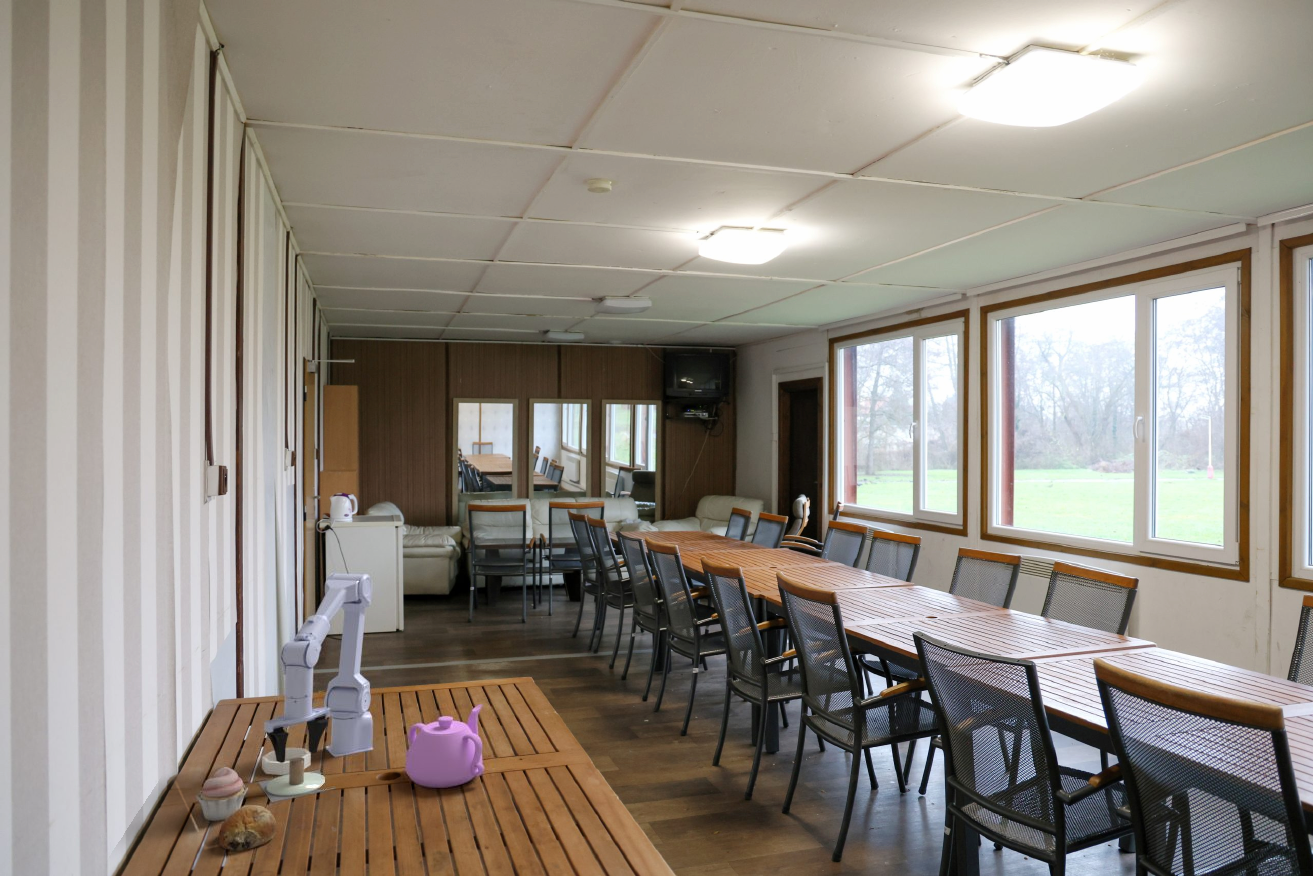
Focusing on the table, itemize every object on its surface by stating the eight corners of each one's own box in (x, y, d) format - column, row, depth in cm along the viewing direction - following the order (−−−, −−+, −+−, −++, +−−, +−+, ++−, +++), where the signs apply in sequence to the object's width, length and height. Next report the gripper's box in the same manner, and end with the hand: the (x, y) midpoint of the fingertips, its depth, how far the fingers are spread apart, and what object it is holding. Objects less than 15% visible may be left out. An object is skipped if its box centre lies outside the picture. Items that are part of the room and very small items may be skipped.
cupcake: (213, 830, 166) (214, 779, 166) (186, 818, 171) (188, 768, 171) (257, 813, 174) (258, 764, 174) (230, 802, 179) (232, 755, 179)
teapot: (516, 767, 202) (517, 709, 202) (459, 801, 182) (460, 736, 182) (442, 752, 211) (444, 696, 211) (380, 782, 191) (382, 721, 191)
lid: (316, 771, 196) (317, 746, 196) (332, 788, 186) (332, 762, 186) (260, 782, 189) (261, 757, 189) (273, 801, 179) (274, 774, 179)
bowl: (302, 757, 205) (303, 745, 205) (313, 770, 197) (314, 757, 198) (259, 766, 199) (259, 753, 200) (268, 779, 192) (269, 766, 192)
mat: (318, 771, 197) (318, 770, 197) (335, 790, 186) (335, 788, 186) (258, 784, 189) (258, 782, 189) (271, 804, 178) (271, 802, 178)
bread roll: (280, 856, 164) (294, 811, 167) (243, 854, 155) (258, 807, 158) (240, 847, 167) (254, 803, 170) (201, 845, 158) (217, 799, 162)
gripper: (318, 685, 196) (316, 744, 196) (257, 698, 184) (255, 761, 184) (336, 690, 192) (334, 751, 192) (274, 705, 180) (272, 769, 180)
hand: (296, 756), depth 188 cm, fingers open, 7 cm apart
